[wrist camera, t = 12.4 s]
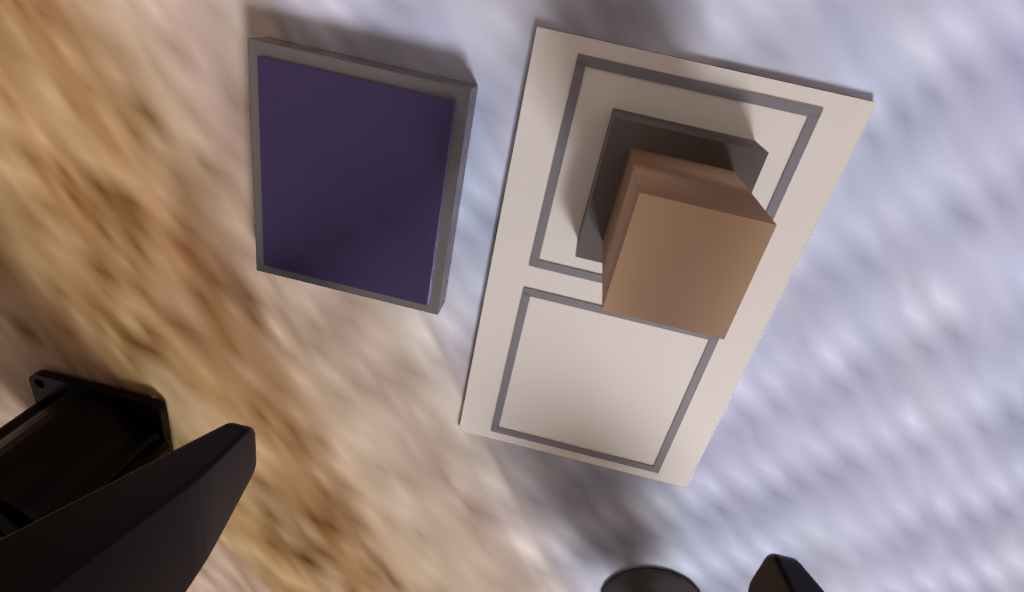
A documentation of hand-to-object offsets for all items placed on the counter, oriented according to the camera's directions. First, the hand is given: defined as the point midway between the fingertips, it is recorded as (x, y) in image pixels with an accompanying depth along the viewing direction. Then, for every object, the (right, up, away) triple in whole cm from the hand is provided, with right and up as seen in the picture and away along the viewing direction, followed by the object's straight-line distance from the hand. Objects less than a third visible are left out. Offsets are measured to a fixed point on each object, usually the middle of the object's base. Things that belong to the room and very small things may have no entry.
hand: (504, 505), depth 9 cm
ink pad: (-5, +8, +10) cm, 14 cm away
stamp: (+5, +7, +8) cm, 12 cm away
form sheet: (+4, +3, +11) cm, 12 cm away
